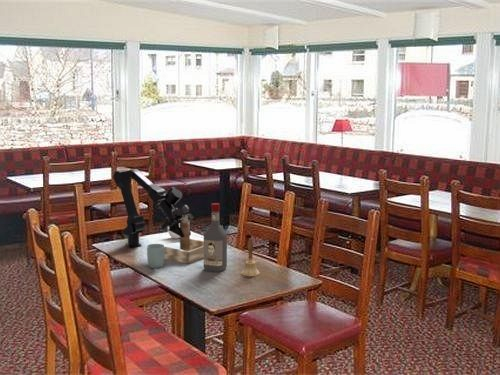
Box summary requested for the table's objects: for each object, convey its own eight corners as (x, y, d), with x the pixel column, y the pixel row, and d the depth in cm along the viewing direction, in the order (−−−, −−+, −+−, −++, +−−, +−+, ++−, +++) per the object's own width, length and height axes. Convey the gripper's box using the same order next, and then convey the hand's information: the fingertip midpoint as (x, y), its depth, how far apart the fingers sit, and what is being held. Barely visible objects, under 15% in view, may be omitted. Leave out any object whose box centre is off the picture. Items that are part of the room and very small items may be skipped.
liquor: (209, 264, 285) (210, 201, 280) (228, 267, 282) (228, 202, 277) (201, 270, 276) (201, 204, 271) (220, 272, 273) (221, 206, 268)
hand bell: (242, 276, 268) (243, 241, 266) (239, 271, 276) (240, 236, 274) (261, 276, 270) (262, 240, 267) (257, 270, 278) (258, 235, 275)
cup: (166, 265, 283) (166, 244, 282) (162, 270, 276) (162, 248, 274) (149, 264, 284) (149, 243, 282) (145, 269, 276) (145, 247, 275)
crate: (161, 259, 293) (161, 246, 292) (187, 249, 309) (187, 238, 308) (188, 264, 284) (188, 252, 283) (213, 254, 301) (213, 243, 300)
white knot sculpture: (171, 233, 340) (171, 217, 339) (192, 234, 339) (192, 218, 338) (166, 239, 329) (166, 222, 328) (188, 239, 328) (188, 223, 327)
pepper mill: (178, 248, 298) (178, 214, 295) (187, 246, 300) (187, 213, 297) (182, 250, 294) (182, 216, 291) (191, 249, 296) (191, 215, 294)
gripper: (165, 203, 288) (184, 230, 284) (190, 197, 303) (208, 222, 299) (153, 217, 293) (171, 243, 289) (177, 211, 309) (195, 235, 305)
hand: (187, 236), depth 295 cm, fingers closed on pepper mill, 5 cm apart
